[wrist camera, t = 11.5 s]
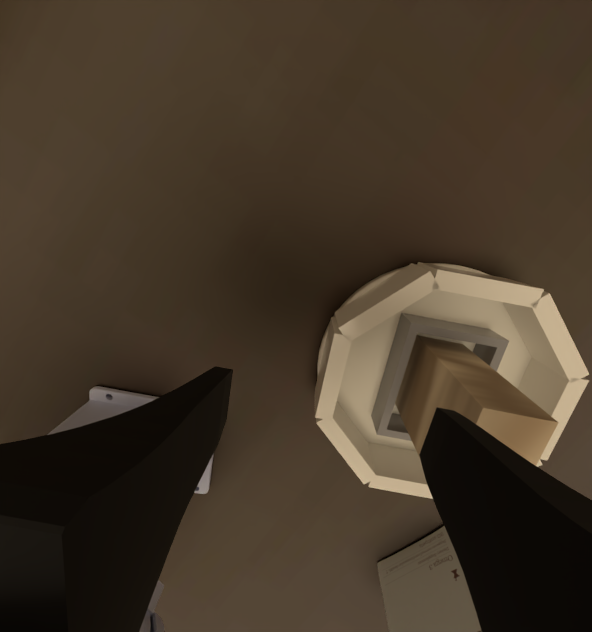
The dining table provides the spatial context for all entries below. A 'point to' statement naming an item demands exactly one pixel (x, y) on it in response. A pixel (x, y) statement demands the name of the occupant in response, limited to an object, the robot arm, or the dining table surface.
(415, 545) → the supplement box
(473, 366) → the tan wooden block
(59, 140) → the dining table surface
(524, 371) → the octagonal cream tray
